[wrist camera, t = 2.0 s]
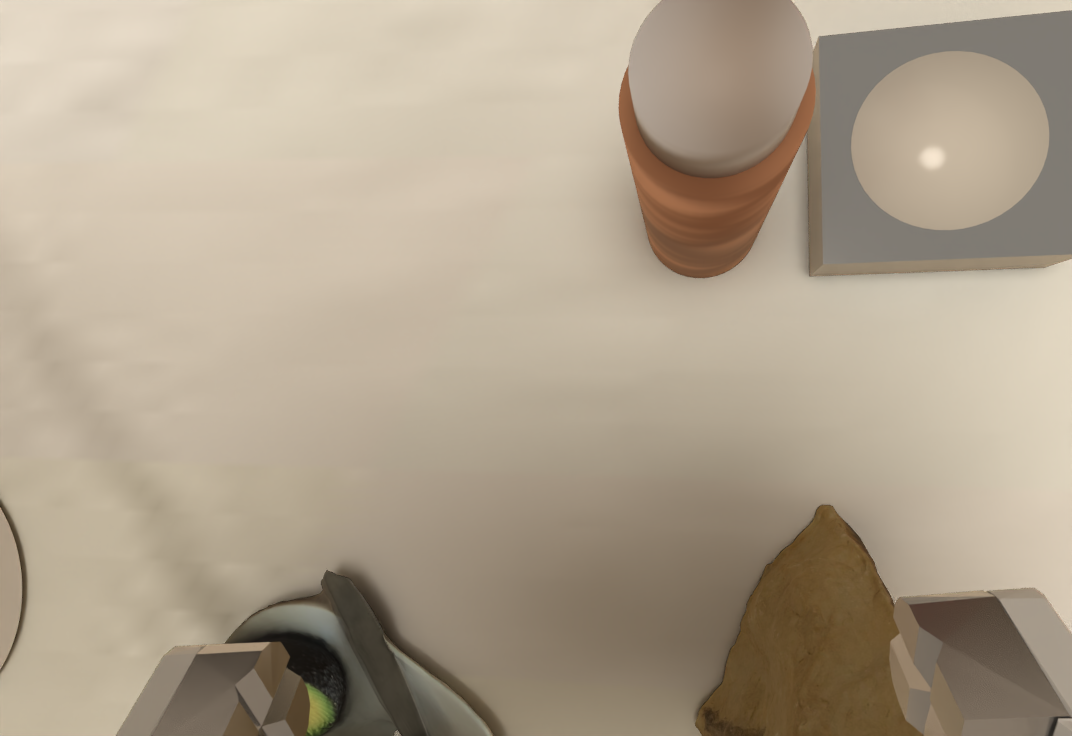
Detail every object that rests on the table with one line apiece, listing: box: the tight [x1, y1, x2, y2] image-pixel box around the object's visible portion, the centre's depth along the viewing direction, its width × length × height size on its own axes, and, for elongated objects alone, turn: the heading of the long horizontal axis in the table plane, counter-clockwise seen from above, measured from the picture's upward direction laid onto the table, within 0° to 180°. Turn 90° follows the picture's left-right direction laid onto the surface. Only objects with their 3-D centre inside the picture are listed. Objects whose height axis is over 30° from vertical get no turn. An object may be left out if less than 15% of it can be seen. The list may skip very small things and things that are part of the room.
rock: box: [695, 505, 924, 736], centre depth 27 cm, size 11×9×10 cm
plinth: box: [807, 10, 1072, 276], centre depth 28 cm, size 9×9×3 cm
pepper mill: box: [619, 0, 816, 278], centre depth 24 cm, size 5×5×16 cm
